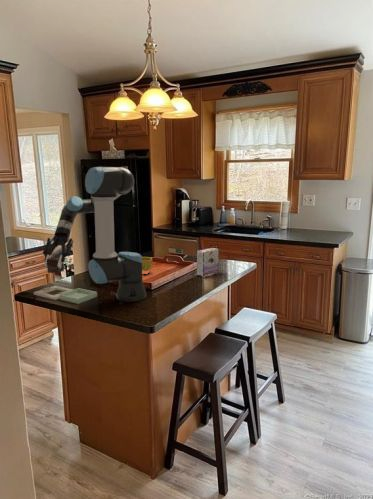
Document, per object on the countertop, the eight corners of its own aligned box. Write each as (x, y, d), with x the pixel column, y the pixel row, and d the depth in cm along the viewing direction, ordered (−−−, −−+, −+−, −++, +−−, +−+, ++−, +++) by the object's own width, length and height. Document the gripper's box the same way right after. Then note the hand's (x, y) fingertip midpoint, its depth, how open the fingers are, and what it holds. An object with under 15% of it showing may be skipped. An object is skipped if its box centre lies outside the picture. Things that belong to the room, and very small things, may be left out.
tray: (97, 296, 193) (96, 292, 192) (78, 304, 182) (77, 299, 181) (78, 292, 199) (78, 288, 199) (59, 299, 188) (59, 294, 188)
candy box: (211, 272, 240) (212, 247, 236) (218, 274, 235) (219, 248, 232) (196, 276, 231) (196, 250, 227) (203, 278, 226) (203, 251, 223)
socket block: (76, 292, 199) (76, 289, 199) (54, 299, 188) (54, 296, 187) (55, 287, 207) (55, 284, 207) (33, 294, 196) (33, 291, 195)
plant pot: (148, 276, 230) (148, 261, 228) (133, 275, 234) (132, 259, 232) (155, 272, 240) (154, 257, 238) (140, 271, 243) (140, 256, 241)
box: (58, 273, 191) (57, 259, 190) (47, 273, 192) (46, 259, 191) (64, 270, 197) (63, 256, 196) (53, 270, 198) (52, 256, 197)
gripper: (82, 234, 205) (73, 271, 193) (48, 234, 207) (36, 270, 194) (78, 226, 199) (68, 263, 186) (43, 226, 201) (31, 262, 188)
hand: (52, 266), depth 190 cm, fingers closed on box, 6 cm apart
